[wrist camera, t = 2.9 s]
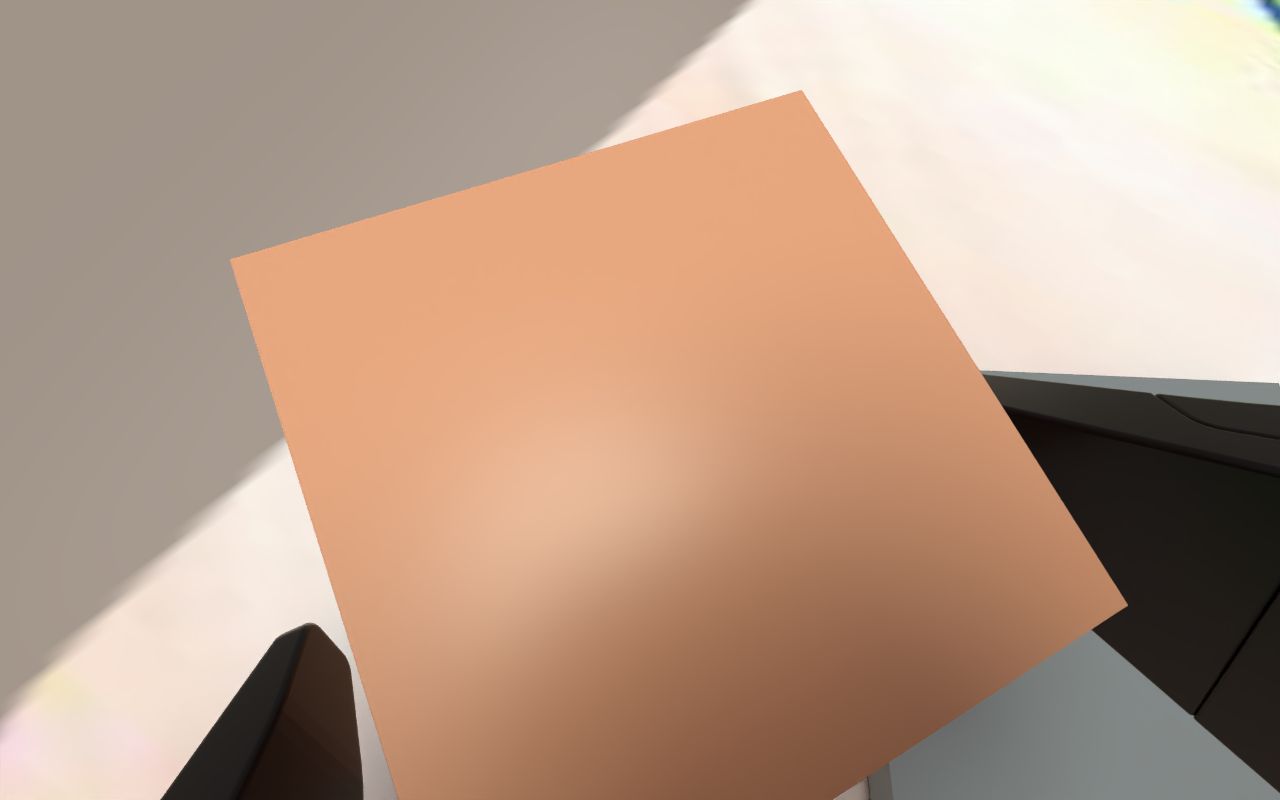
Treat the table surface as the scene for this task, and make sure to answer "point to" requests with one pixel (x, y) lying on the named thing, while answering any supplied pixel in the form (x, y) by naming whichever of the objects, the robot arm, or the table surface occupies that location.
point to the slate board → (1081, 709)
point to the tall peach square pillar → (659, 476)
